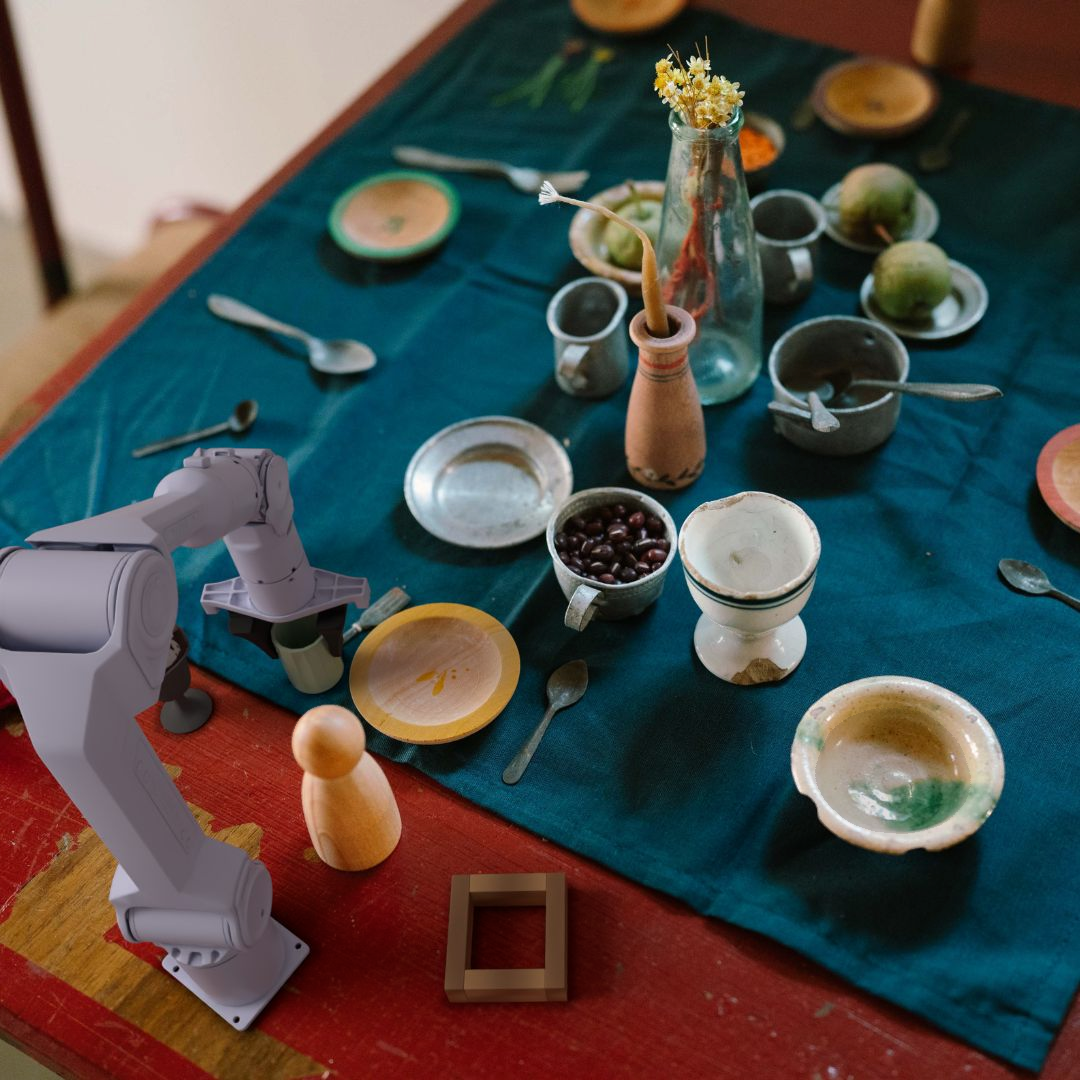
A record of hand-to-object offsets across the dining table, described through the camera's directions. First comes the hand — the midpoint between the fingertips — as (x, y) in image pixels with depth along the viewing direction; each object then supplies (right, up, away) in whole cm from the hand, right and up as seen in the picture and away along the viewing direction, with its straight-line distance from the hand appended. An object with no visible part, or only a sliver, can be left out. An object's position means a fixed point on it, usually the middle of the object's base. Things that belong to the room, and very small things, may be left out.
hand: (308, 649), depth 109 cm
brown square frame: (+19, -22, -15) cm, 33 cm away
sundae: (-12, -6, +2) cm, 14 cm away
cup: (0, -2, +3) cm, 4 cm away
